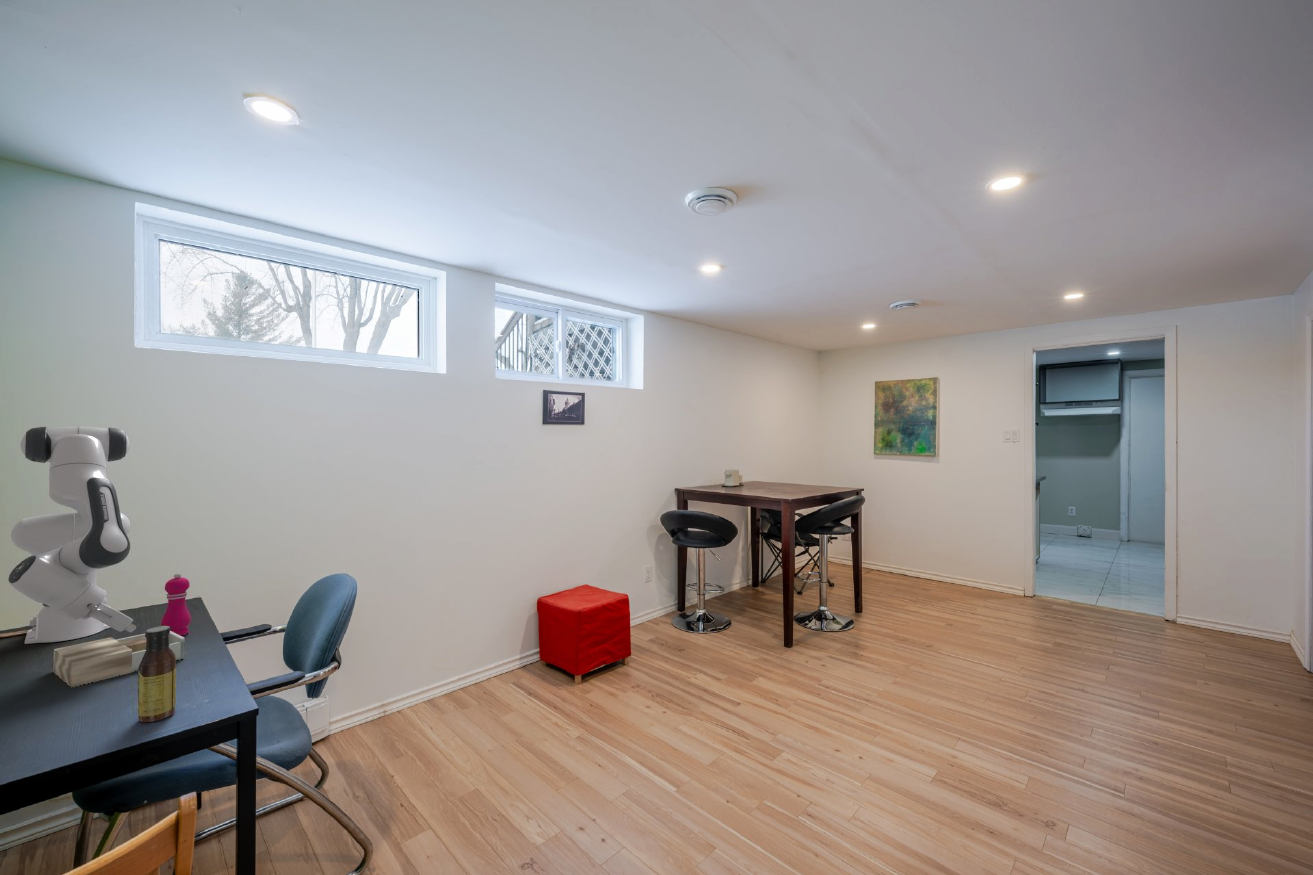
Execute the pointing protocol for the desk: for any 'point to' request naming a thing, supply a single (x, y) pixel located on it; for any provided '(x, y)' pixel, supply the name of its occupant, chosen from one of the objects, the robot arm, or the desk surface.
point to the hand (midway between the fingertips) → (132, 629)
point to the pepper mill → (177, 605)
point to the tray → (174, 644)
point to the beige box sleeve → (92, 661)
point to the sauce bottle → (157, 677)
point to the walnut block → (136, 644)
